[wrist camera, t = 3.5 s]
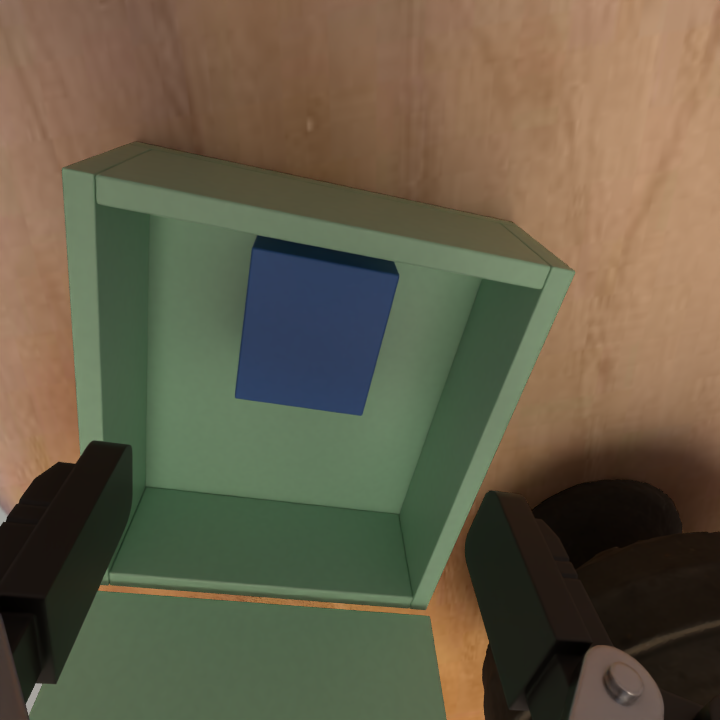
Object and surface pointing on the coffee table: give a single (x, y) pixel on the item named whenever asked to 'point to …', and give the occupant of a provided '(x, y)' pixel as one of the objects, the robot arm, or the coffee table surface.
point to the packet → (313, 325)
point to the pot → (637, 585)
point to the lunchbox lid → (243, 663)
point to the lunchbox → (280, 422)
